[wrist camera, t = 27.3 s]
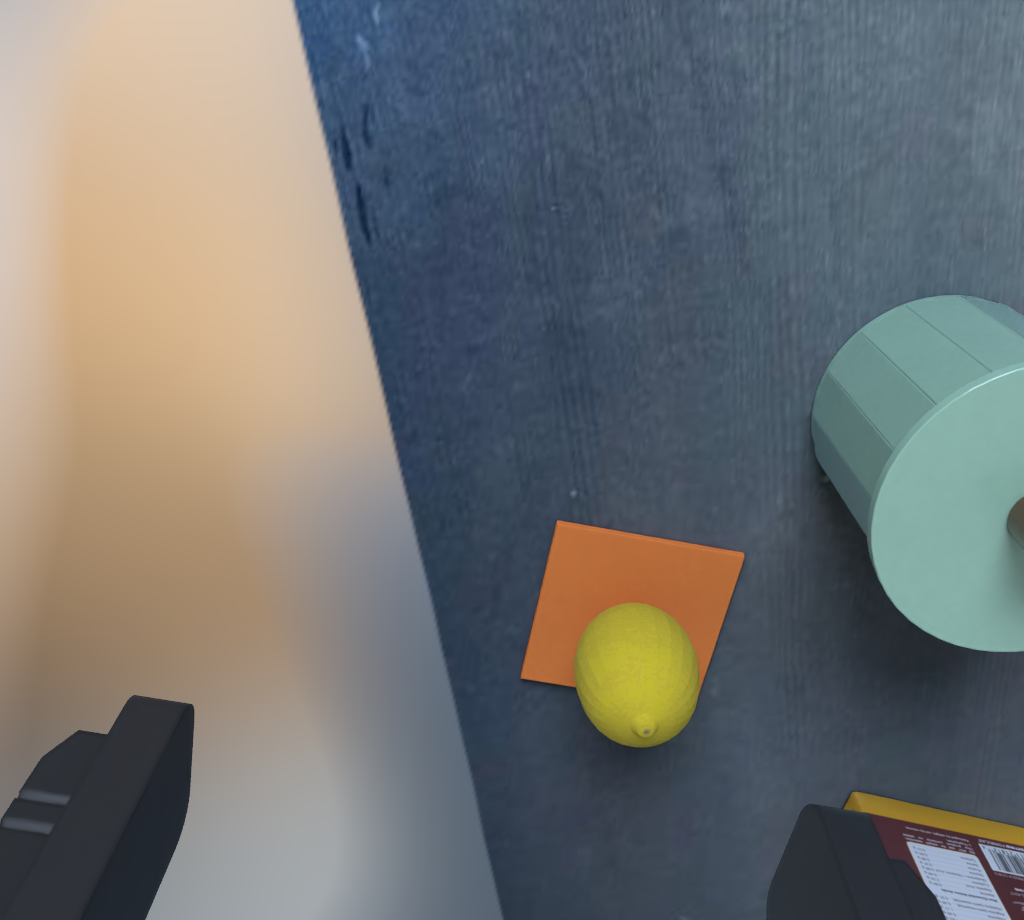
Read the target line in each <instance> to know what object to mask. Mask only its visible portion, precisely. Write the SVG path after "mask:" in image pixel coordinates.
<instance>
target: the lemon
mask: <svg viewBox="0 0 1024 920" xmlns="http://www.w3.org/2000/svg"><path fill="white" fill-rule="evenodd" d="M574 672H575V684H576V689H577V692H578V695H579V698H580V700H581V703H582V706H583V708H584V710H585V712H586V714H587V716H588V717H589V719H590V720H591V721H592V723H593V724H594V725H595V727H596V728H597V729H598V730H599V731H600V732H602V733H603V734H604V735H605V736H607V737H608V738H610V739H611V740H613V741H615V742H618V743H620V744H622V745H627V746H632V747H650V746H655V745H659V744H661V743H663V742H666V741H668V740H670V739H671V738H673V737H674V736H676V735H677V734H678V733H679V732H680V731H681V730H682V729H683V728H684V727H685V726H686V724H687V723H688V722H689V720H690V718H691V716H692V714H693V712H694V710H695V707H696V704H697V698H698V692H699V685H700V675H699V668H698V661H697V656H696V652H695V650H694V647H693V645H692V643H691V641H690V639H689V637H688V635H687V633H686V632H685V630H684V629H683V628H682V627H681V626H680V624H679V623H678V622H677V621H676V620H675V619H674V618H673V617H672V616H670V615H669V614H667V613H666V612H664V611H663V610H661V609H659V608H656V607H654V606H651V605H648V604H643V603H624V604H619V605H616V606H613V607H610V608H608V609H606V610H605V611H603V612H601V613H600V614H598V615H597V616H596V617H595V618H594V619H593V620H592V621H591V622H590V623H589V624H588V626H587V627H586V629H585V631H584V632H583V634H582V636H581V637H580V640H579V643H578V646H577V650H576V654H575V659H574Z"/></svg>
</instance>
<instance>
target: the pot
mask: <svg viewBox="0 0 1024 920" xmlns="http://www.w3.org/2000/svg"><path fill="white" fill-rule="evenodd" d="M1022 362H1024V316H1023V315H1021V314H1019V313H1018V312H1016V311H1015V310H1013V309H1011V308H1010V307H1008V306H1006V305H1004V304H1000V303H995V302H993V301H989V300H986V299H982V298H978V297H972V296H964V295H942V296H934V297H927V298H923V299H919V300H915V301H911V302H909V303H906V304H903V305H901V306H898V307H896V308H893V309H891V310H890V311H888V312H886V313H884V314H882V315H880V316H878V317H877V318H875V319H874V320H872V321H871V322H869V323H868V324H866V325H865V326H864V327H862V328H861V329H860V330H859V331H858V332H857V333H855V334H854V335H853V336H852V337H851V338H850V339H849V340H848V341H847V342H846V343H845V344H844V345H843V346H842V348H841V349H840V350H839V351H838V353H837V354H836V355H835V357H834V358H833V359H832V361H831V362H830V364H829V366H828V368H827V369H826V371H825V373H824V375H823V377H822V379H821V381H820V384H819V386H818V389H817V392H816V395H815V399H814V403H813V409H812V417H811V433H812V439H813V445H814V449H815V453H816V458H817V460H818V462H819V463H820V465H821V467H822V468H823V470H824V472H825V473H826V475H827V477H828V478H829V480H830V481H831V483H832V485H833V486H834V488H835V490H836V491H837V493H838V494H839V496H840V498H841V499H842V501H843V502H844V504H845V505H846V507H847V508H848V510H849V512H850V513H851V515H852V516H853V518H854V519H855V521H856V522H857V524H858V526H859V527H860V529H861V530H862V532H863V533H864V535H865V536H866V538H867V521H868V514H869V508H870V502H871V499H872V495H873V492H874V489H875V486H876V483H877V480H878V478H879V476H880V474H881V472H882V470H883V468H884V465H885V463H886V462H887V460H888V459H889V457H890V455H891V454H892V452H893V451H894V449H895V447H896V446H897V445H898V443H899V442H900V441H901V440H902V438H903V437H904V436H905V435H906V433H907V432H908V431H909V430H910V428H911V427H912V426H913V425H914V424H915V423H916V422H917V421H918V420H919V419H920V418H921V417H922V416H923V415H924V414H925V413H926V412H928V411H929V410H930V409H931V408H933V407H934V406H935V405H936V404H938V403H939V402H940V401H941V400H943V399H944V398H945V397H947V396H948V395H950V394H951V393H953V392H955V391H956V390H958V389H959V388H961V387H963V386H964V385H966V384H968V383H970V382H972V381H974V380H976V379H978V378H980V377H982V376H984V375H986V374H988V373H991V372H993V371H996V370H999V369H1002V368H1004V367H1007V366H1010V365H1013V364H1018V363H1022Z"/></svg>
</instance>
